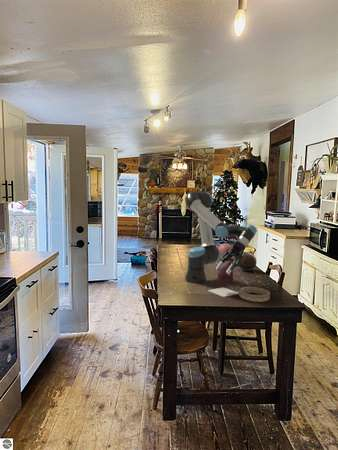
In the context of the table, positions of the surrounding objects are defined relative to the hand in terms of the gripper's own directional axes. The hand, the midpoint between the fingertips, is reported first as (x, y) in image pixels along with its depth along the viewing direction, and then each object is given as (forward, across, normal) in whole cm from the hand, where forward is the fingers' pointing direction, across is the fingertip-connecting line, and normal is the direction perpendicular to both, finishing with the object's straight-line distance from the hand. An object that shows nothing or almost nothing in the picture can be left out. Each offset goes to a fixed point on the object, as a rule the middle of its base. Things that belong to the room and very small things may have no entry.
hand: (222, 271), depth 212 cm
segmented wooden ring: (0, -15, -20) cm, 25 cm away
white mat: (+8, +1, -12) cm, 15 cm away
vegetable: (+2, 0, -6) cm, 7 cm away
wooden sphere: (-35, +34, -55) cm, 73 cm away
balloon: (-48, +73, -67) cm, 110 cm away
